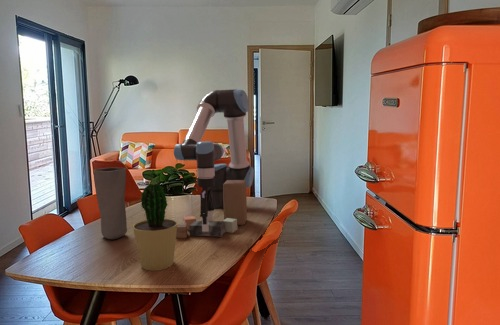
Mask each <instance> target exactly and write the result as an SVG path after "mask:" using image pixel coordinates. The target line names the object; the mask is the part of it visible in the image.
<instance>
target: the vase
mask: <svg viewBox="0 0 500 325" xmlns="http://www.w3.org/2000/svg"><path fill="white" fill-rule="evenodd" d="M93 180H94V181H93V183H94V188H95V194H96V200H97V206H98V210H99V215H100V228H101V229H100V230H101V235H102V236H103V238H105V239H108V240H116V239H120V238H123V237H125V235H126V234H127V232H128V227H127V226H128V222H127V213H126V212H127V211H126V201H125V196H126V185H127V184H126V183H127V182H126V181H127V169H126V167H103V168H96V169H93Z"/></svg>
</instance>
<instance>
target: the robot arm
mask: <svg viewBox="0 0 500 325" xmlns="http://www.w3.org/2000/svg"><path fill="white" fill-rule="evenodd" d="M249 100H250V99H249V97H248V94H247V92H246V91H245V90H244V89H237V88H236V89H216V90H212V91H210V92H208V93H207V94H206V95H204V97H202V98H201V99H200V100H199V103H198V104H197V106H196V112H195V116H194V117H193V120H192V122H191V124H190V126H189V129H188V130H187V133H186V135H185V136H184V139H183V141H182V142H181V143H176V144H175V145H174V147H173V156H174V158H175V160H177V161H196V170H195V171H196V176H197V180H196V181H197V187H198V188H202V189H201V191H200V193H199V196H200V213H199V214H200V215H199V217H200V218H201V221H202V231H204V232H208V231H209V224H208V221H214V220H213V217H214V216H213V211H215V209H224V201H223V184H224V183H225V182H226V181H227V180H245V181H246V189H248V188H250V187H251V186H252V185H253V181H254V177H255V176H254V175H255V170H254V167H253V166H251V164H250V162H249V161H248V160H247V149H246V136H245V133H246V131H245V122H244V118H245V117H247V116H246V115H247V113H248V112H249V109H250V102H249ZM217 113H222V114H223V118H225V119H226V122H227V132H228V142H229V154H230V162H229V164H227V163H216V164H215V162H216V161H219V160H220V159H221V158H223V156H224V152H225V151H224V147H223V146H222V145H221V144H220V143H214V142H213V141H210V140H209V141H206V140H205V141H202V140H203V137H204V135H205V132H206V130H207V127H208V125H209V123H210V120H211V119H212V118H213V117H214V115H215V114H217Z"/></svg>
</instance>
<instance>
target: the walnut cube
mask: <svg viewBox="0 0 500 325" xmlns="http://www.w3.org/2000/svg"><path fill="white" fill-rule="evenodd" d="M187 237H188V230H187V223H186V224H183V223H177V232H176V239H187Z"/></svg>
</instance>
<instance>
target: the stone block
mask: <svg viewBox="0 0 500 325" xmlns="http://www.w3.org/2000/svg"><path fill="white" fill-rule="evenodd" d="M208 224H209V231H208V232H204V231H202V220H196V221H195V222H193V223H192V224H191V225H190V226H189V230H188V232H189V236H190V237H205V236H206V237H219V238H222V237H223V235H224V234H225V233H227V232H226V228H225V221H223V220H213V221H208Z"/></svg>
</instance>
